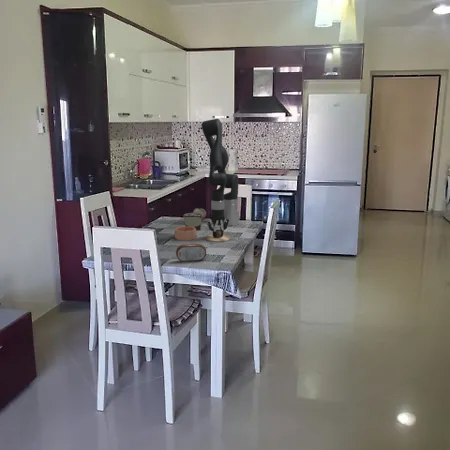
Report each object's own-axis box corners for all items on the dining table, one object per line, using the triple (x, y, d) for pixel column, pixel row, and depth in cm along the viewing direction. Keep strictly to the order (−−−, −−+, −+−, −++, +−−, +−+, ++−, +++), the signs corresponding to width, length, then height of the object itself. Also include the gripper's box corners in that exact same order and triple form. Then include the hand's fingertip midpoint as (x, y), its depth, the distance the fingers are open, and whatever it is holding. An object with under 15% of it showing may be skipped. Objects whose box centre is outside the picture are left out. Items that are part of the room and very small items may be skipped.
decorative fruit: (208, 220, 314) (208, 206, 312) (202, 223, 307) (202, 208, 305) (197, 219, 319) (197, 205, 317) (190, 221, 312) (190, 207, 310)
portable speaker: (206, 259, 233) (205, 243, 231) (206, 261, 230) (206, 244, 228) (176, 260, 231) (175, 244, 229) (176, 262, 228) (176, 246, 226)
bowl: (191, 235, 279) (190, 225, 277) (198, 239, 269) (198, 229, 267) (172, 237, 274) (172, 227, 272) (180, 242, 263) (179, 232, 262)
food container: (204, 228, 295) (204, 212, 292) (202, 230, 289) (202, 215, 286) (185, 227, 296) (184, 212, 294) (183, 230, 290) (183, 214, 288)
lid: (223, 234, 279) (223, 226, 277) (235, 239, 266) (235, 231, 265) (200, 237, 272) (200, 229, 271) (212, 243, 259) (211, 235, 258)
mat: (224, 234, 280) (224, 233, 280) (237, 241, 265) (237, 240, 265) (198, 237, 273) (198, 236, 272) (211, 244, 258) (211, 244, 258)
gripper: (225, 205, 271) (225, 234, 275) (203, 207, 265) (204, 237, 269) (231, 207, 264) (231, 237, 268) (209, 210, 258) (209, 240, 262)
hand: (218, 236), depth 269 cm, fingers closed on lid, 3 cm apart
